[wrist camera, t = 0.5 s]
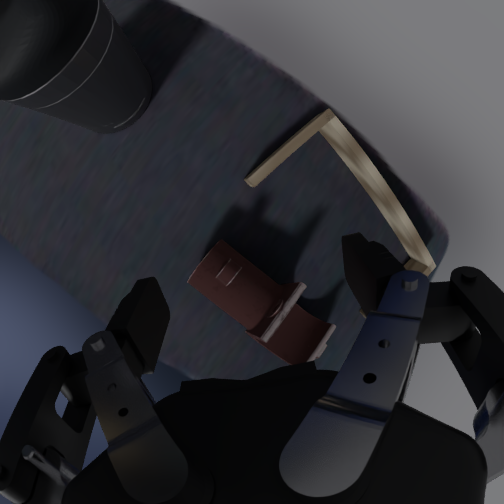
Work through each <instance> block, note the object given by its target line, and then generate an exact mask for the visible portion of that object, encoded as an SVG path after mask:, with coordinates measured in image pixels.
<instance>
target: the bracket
mask: <svg viewBox="0 0 504 504" xmlns="http://www.w3.org/2000/svg"><path fill="white" fill-rule="evenodd" d="M188 283H189V284H191V285H192V286H193V287H194V288H196V289H197V290H198V291H199V292H201V293H202V294H203V295H204V296H206V297H207V298H208V299H209V300H211V301H212V302H213V303H215V304H216V305H217V306H218V307H220V308H221V309H222V310H224V311H225V312H226V313H227V314H229V315H230V316H231V317H233V318H234V319H235V320H237V321H238V322H239V323H241V324H242V325H243V326H245V327H246V328H247V330H246V331H245V332H246V333H247V334H248V335H249V336H251V337H252V338H253V339H254V340H256V341H257V342H258V343H260V344H261V345H262V346H264V347H265V348H266V349H268V350H269V351H271V352H272V353H273V354H275V355H276V356H278V357H279V358H281V359H282V360H284V361H285V362H287V363H288V364H290V365H294V364H299V363H304V362H308V361H313V360H314V359H315V358H319V357H320V356H321V354H322V353H323V352H324V350H325V349H326V347H327V345H326V342H327V340H328V339H329V337H330V336H331V334H332V332H333V331H334V329H335V328H336V326H335V325H334V324H330V323H326V322H324V321H321V320H319V319H317V318H316V317H314V316H312V315H311V314H309V313H307V312H306V311H305V310H303V309H302V308H301V307H299V306H298V305H297V304H296V301H297V300H298V298H299V297H300V296H301V294H302V293H303V291H304V290H305V288H306V287H307V286H306V285H305V284H304V283H302V282H297V283H289V284H281V285H279V284H277V283H276V282H275V281H274V280H272V279H271V278H270V277H269V276H267V275H266V274H265V273H264V272H262V271H261V270H260V269H258V268H257V267H256V266H255V265H253V264H252V263H251V262H250V261H248V260H247V259H246V258H245V257H243V256H242V255H241V254H240V253H238V252H237V251H236V250H235V249H233V248H232V247H231V246H230V245H228V244H227V243H226V242H225V241H223V240H222V239H221V240H220V241H219V242H218V243H217V244H216V245H215V246H214V247H213V248H212V249H211V250H210V251H209V253H208V254H207V255H206V256H205V258H204V259H203V260H202V261H201V263H200V264H199V265H198V267H197V268H196V269H195V271H194V272H193V273H192V275H191V276H190V278H189V280H188Z"/></svg>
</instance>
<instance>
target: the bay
mask: <svg viewBox="0 0 504 504" xmlns="http://www.w3.org/2000/svg"><path fill="white" fill-rule="evenodd" d="M317 131H319V132H320V133H321V134H322V135H323V136H324V138H325V139H326V140H327V141H328V142H329V144H330V145H331V146H332V147H333V149H334V150H335V151H336V152H337V153H338V155H339V156H340V157H341V158H342V160H343V161H344V162H345V164H346V165H347V166H348V167H349V169H350V170H351V171H352V173H353V174H354V175H355V177H356V178H357V179H358V181H359V182H360V183H361V185H362V186H363V187H364V189H365V190H366V191H367V193H368V194H369V196H370V197H371V198H372V200H373V201H374V203H375V204H376V205H377V207H378V208H379V210H380V211H381V213H382V214H383V216H384V217H385V219H386V220H387V222H388V223H389V225H390V226H391V228H392V229H393V231H394V232H395V234H396V235H397V237H398V238H399V240H400V242H401V243H402V245H403V246H404V248H405V250H406V251H407V253H408V254H409V256H410V258H411V259H410V260H409V261H408V262H407V263H406V264H405V265H404V267H405V269H406V270H414V271H418V272H421V273H423V274H425V275H426V276H428V275H429V274H430V273H431V272H432V271H433V270H434V268H435V267H436V265H435V263H434V261H433V259H432V257H431V256H430V254H429V252H428V250H427V248H426V246H425V245H424V243H423V241H422V239H421V237H420V236H419V234H418V232H417V231H416V229H415V227H414V225H413V224H412V222H411V220H410V219H409V217H408V216H407V214H406V212H405V211H404V209H403V207H402V206H401V204H400V203H399V201H398V200H397V198H396V197H395V195H394V194H393V192H392V190H391V189H390V188H389V186H388V185H387V183H386V182H385V180H384V179H383V177H382V176H381V174H380V173H379V172H378V170H377V169H376V167H375V166H374V165H373V163H372V162H371V160H370V159H369V158H368V156H367V155H366V154H365V152H364V151H363V150H362V148H361V147H360V146H359V144H358V143H357V142H356V140H355V139H354V138H353V137H352V135H351V134H350V133H349V132H348V130H347V129H346V128H345V127H344V125H343V124H342V123H341V122H340V121H339V119H338V118H337V117H336V116H335V115H334V113H333V112H332V111H331V110H330V109H327V110H325V111H324V112H322V113H320V114H318V115H317V116H315V117H314V118H313V119H312V120H311V121H309V122H308V123H307V124H306V125H305V126H303V127H302V128H301V129H300V130H299V131H298V132H296V133H295V134H294V135H293V136H292V137H291V138H289V139H288V140H287V141H286V142H285V143H284V144H283V145H281V146H280V147H279V148H278V149H277V150H276V151H275V152H273V153H272V154H271V155H270V156H269V157H268V158H267V159H266V160H264V161H263V162H262V163H261V164H260V165H259V166H258V167H257V168H256V169H254V170H253V171H252V172H251V173H250V174H249V175H248V176H247V177H246V178H245V179H244V180H245V182H246V183H247V184H248V185H249V186H251V187H255V186H256V185H258V184H259V183H260V182H261V181H262V180H263V179H264V178H265V177H266V176H267V175H269V174H270V173H271V172H272V171H273V170H274V169H275V168H276V167H277V166H279V165H280V164H281V163H282V162H283V161H284V160H285V159H286V158H287V157H289V156H290V155H291V154H292V153H293V152H294V151H295V150H297V149H298V148H299V147H300V146H301V145H302V144H303V143H305V142H306V141H307V140H308V139H309V138H310V137H311V136H313V135H314V134H315V133H316V132H317ZM360 312H361V314H362V315H363V316H364V317H365V318H367V317H366V315H365V313H364V311H363V310H362V309H361V310H360Z"/></svg>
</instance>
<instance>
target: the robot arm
mask: <svg viewBox="0 0 504 504" xmlns="http://www.w3.org/2000/svg"><path fill="white" fill-rule="evenodd" d="M151 93H152V81H151V78H150V74H149V73H148V71H147V69H146V68H145V66H144V65H143V63H142V61H141V59H140V58H139V56H138V55H137V53H136V51H135V50H134V48H133V47H132V45H131V44H130V42H129V40H128V39H127V37H126V36H125V34H124V32H123V31H122V29H121V28H120V26H119V25H118V23H117V21H116V20H115V18H114V17H113V15H112V14H111V12H110V10H109V9H108V8H107V6H106V5H105V3H104V1H103V0H0V100H2V101H5V102H9V103H12V104H15V105H18V106H22V107H25V108H29V109H32V110H35V111H38V112H41V113H44V114H47V115H50V116H53V117H56V118H58V119H61V120H64V121H67V122H70V123H73V124H76V125H78V126H81V127H84V128H86V129H89V130H92V131H95V132H98V133H105V134H108V133H115V132H118V131H121V130H123V129H125V128H127V127H129V126H130V125H132V124H133V123H134V122H135V121H136V120H138V119H139V117H140V116H141V115H142V114H143V113H144V111H145V109H146V108H147V106H148V104H149V101H150V98H151ZM342 250H343V260H344V271H345V276H346V280H347V283H348V285H349V286H350V288H351V290H352V292H353V293H354V295H355V297H356V299H357V301H358V302H359V304H360V306H361V308H362V310H363V311H364V313H365V315H366V317H367V318H366V320H365V322H364V324H363V326H362V328H361V330H360V332H359V334H358V336H357V338H356V340H355V342H354V344H353V346H352V348H351V350H350V352H349V354H348V355H347V357H346V359H345V361H344V363H343V365H342V367H341V368H340V370H339V372H338V371H332V370H316V366H315V362H314V360H313V361H308V362H304V363H299V364H294V365H289V366H284V367H280V368H277V369H275V370H272V371H270V372H267V373H264V374H262V375H259V376H256V377H254V378H251V379H248V380H231V379H216V378H209V379H201V380H191V381H182V382H181V387H180V391H179V392H176V393H174V394H171V395H169V396H167V397H165V398H163V399H162V400H160V401H158V402H157V403H156V401H155V400H154V398H153V397H152V395H151V393H150V392H149V390H148V389H147V387H146V385H145V384H144V383H143V381H142V379H141V375H142V374H152V373H154V370H155V366H156V363H157V359H158V356H159V353H160V349H161V346H162V343H163V339H164V336H165V333H166V330H167V327H168V323H169V320H170V311H169V307H168V305H167V302H166V300H165V298H164V295H163V293H162V291H161V288H160V286H159V284H158V281H157V280H156V278H155V277H149V278H144V279H140V280H137V281H136V283H135V285H134V287H133V288H132V290H131V292H130V293H129V294H128V295H126V296H125V297H124V298H123V299H122V301H121V302H120V304H119V306H118V308H117V309H116V311H115V314H114V315H113V316H112V318H111V320H110V322H109V324H108V326H107V327H106V330H105V331H100V332H97V333H95V334H93V335H92V336H90V337H89V338H88V339H87V340H86V341H85V342H84V344H83V346H82V351H80V352H78V353H74V354H72V355H70V354H69V353H68V352H67V350H66V349H65V348H64V347H63V346H57V347H54V348H52V349H50V350H49V351H47V352H46V353H45V354H44V355H43V357H42V358H41V360H40V362H39V363H38V365H37V367H36V369H35V370H34V372H33V374H32V376H31V378H30V380H29V381H28V383H27V385H26V387H25V389H24V391H23V393H22V395H21V397H20V399H19V401H18V403H17V405H16V407H15V409H14V411H13V413H12V415H11V417H10V419H9V422H8V424H7V426H6V428H5V431H4V433H3V435H2V438H1V440H0V494H1V495H3V496H4V497H6V498H7V499H9V500H10V501H11V502H12V503H13V504H484V497H485V489H486V484H487V483H489V482H490V481H492V480H494V479H496V478H497V477H499V476H500V475H502V474H503V473H504V293H503V292H502V291H501V289H500V288H498V286H497V285H496V284H495V283H494V282H492V281H491V280H490V279H489V278H488V277H487V276H486V275H485V274H484V273H483V272H482V271H480V270H479V269H476V268H474V267H468V266H463V267H458V268H456V269H454V270H453V271H452V273H451V277H450V281H447V282H430V281H429V279H428V277H427V276H426V275H425V274H423V273H421V272H418V271H414V270H406V269H405V267H404V266H403V265H402V264H401V263H400V262H399V261H398V260H397V259H396V258H395V257H394V256H393V255H392V254H391V253H390V252H389V251H388V249H387V248H386V247H385V246H384V245H382V244H380V243H377V242H375V241H371V242H368V241H367V240H366V238H365V237H364V236H363V235H362V234H361V233H360V232H358V233H354V234H349V235H345V236H342ZM475 327H477V328H478V330H479V331H480V334H481V335H480V334H479V332H478V331H477V329H476V328H475ZM438 342H441V344H442V345H443V347H444V349H445V350H446V352H447V354H448V355H449V357H450V359H451V360H452V363H453V364H454V366H455V368H456V369H457V371H458V373H459V375H460V377H461V378H462V380H463V382H464V384H465V386H466V388H467V390H468V392H469V394H470V396H471V397H472V399H473V401H474V403H475V405H476V407H477V410H478V411H477V413H476V414H475V417H474V420H473V428H474V432H475V440H474V439H473V438H472V437H470V436H469V435H467V434H466V433H464V432H462V431H460V430H458V429H455V428H453V427H451V426H449V425H447V424H445V423H443V422H441V421H438V420H436V419H434V418H432V417H430V416H428V415H426V414H424V413H422V412H420V411H418V410H416V409H414V408H412V407H410V406H408V405H406V404H404V403H403V402H404V399H405V396H406V392H407V389H408V386H409V382H410V379H411V376H412V373H413V369H414V366H415V363H416V359H417V355H418V352H419V348H420V344H425V343H438ZM60 391H61V392H62V394H63V395H64V396H65V397H66V398H67V399H68V404H67V407H66V409H65V411H64V414H63V417H62V418H61V417H60V416H59V415H58V414H57V412H56V410H55V402H56V399H57V397H58V394H59V392H60ZM96 416H98V419H99V422H100V425H101V427H102V430H103V432H104V435H105V437H106V439H107V442H108V448H107V449H106V450H105V451H103V452H102V453H101V454H100V455H99V456H98V457H97V458H96V459H95V460H94V461H92V462H91V463H90V464H89V465H88V466H87V467H86V468H84V469H83V470H82V467H83V463H84V459H85V455H86V451H87V448H88V444H89V440H90V437H91V433H92V430H93V426H94V423H95V419H96Z"/></svg>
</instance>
